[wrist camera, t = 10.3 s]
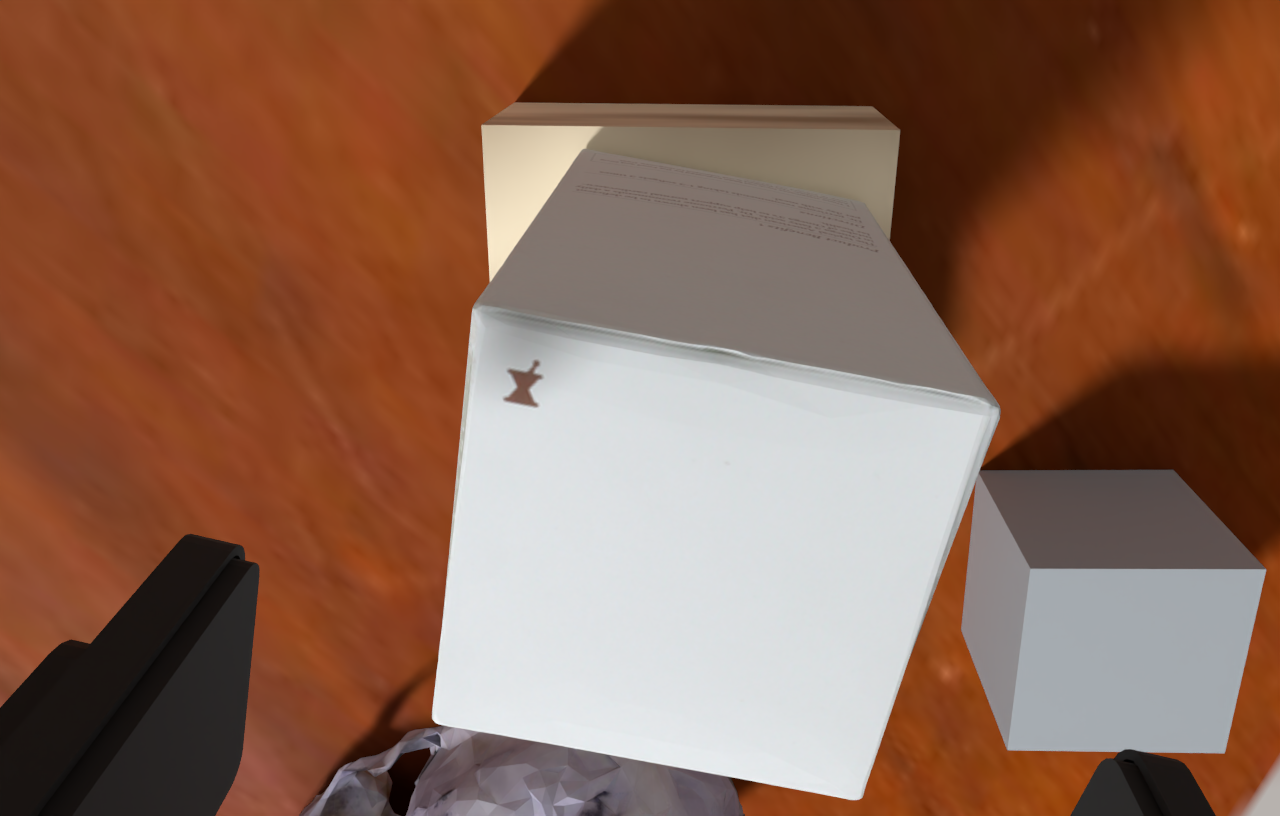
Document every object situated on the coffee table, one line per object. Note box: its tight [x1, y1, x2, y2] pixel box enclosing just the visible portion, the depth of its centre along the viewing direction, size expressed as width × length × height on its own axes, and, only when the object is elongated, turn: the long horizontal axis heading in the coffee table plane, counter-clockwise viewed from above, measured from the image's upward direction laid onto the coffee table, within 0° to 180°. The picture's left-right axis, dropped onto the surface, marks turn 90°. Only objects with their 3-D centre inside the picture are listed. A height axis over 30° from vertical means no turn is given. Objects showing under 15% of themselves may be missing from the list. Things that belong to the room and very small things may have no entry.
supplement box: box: [432, 149, 1001, 800], centre depth 21 cm, size 7×7×13 cm
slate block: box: [961, 470, 1266, 753], centre depth 31 cm, size 6×6×6 cm
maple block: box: [482, 102, 900, 282], centre depth 29 cm, size 10×10×5 cm
